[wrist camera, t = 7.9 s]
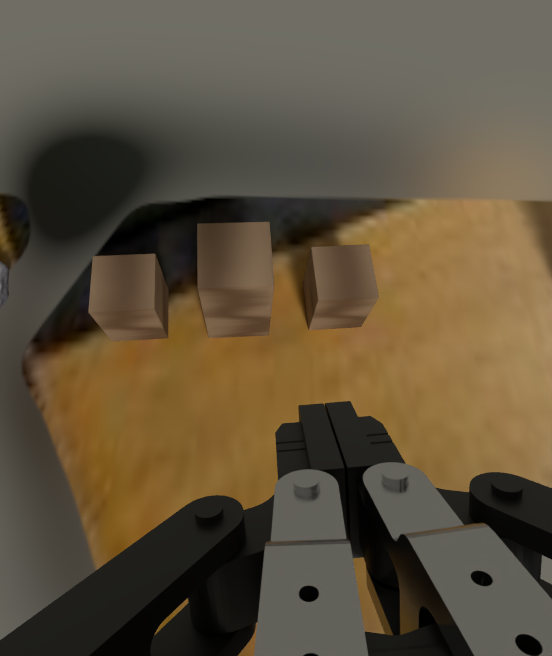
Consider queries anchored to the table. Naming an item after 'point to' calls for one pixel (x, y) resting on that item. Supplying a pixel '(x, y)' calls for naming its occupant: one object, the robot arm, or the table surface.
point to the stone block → (3, 283)
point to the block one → (339, 286)
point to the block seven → (129, 297)
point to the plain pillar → (235, 278)
